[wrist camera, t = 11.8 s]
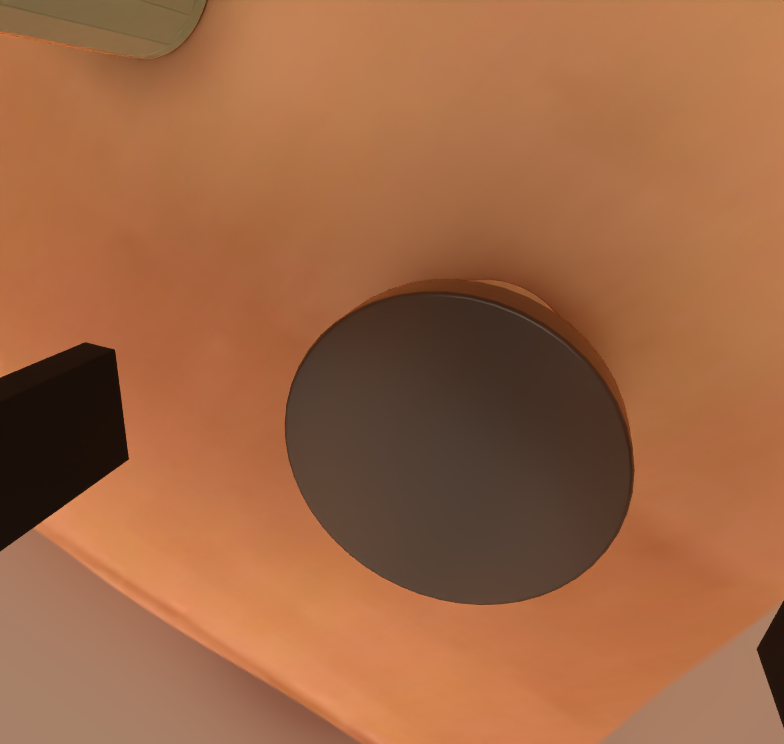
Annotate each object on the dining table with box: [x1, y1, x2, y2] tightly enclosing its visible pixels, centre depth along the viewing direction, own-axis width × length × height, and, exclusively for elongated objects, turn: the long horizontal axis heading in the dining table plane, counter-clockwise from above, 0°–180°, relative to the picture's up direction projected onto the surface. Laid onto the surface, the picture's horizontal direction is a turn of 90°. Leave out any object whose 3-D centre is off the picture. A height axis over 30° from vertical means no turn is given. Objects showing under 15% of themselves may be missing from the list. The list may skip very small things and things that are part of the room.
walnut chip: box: [285, 279, 634, 605], centre depth 12 cm, size 8×8×1 cm
